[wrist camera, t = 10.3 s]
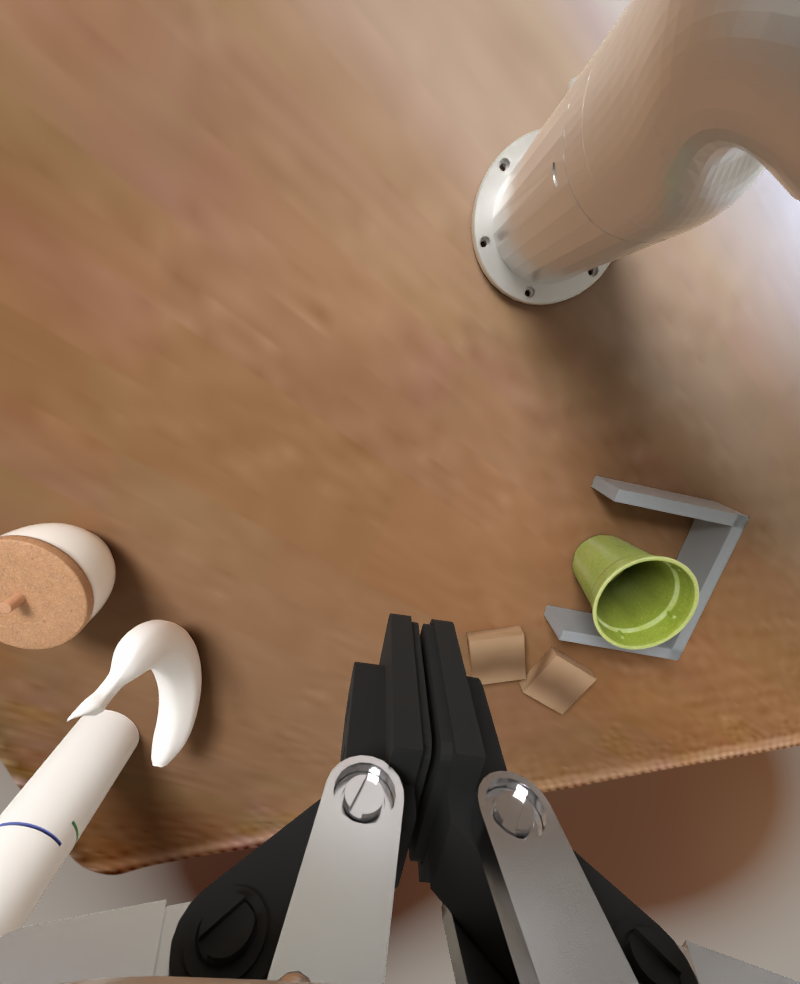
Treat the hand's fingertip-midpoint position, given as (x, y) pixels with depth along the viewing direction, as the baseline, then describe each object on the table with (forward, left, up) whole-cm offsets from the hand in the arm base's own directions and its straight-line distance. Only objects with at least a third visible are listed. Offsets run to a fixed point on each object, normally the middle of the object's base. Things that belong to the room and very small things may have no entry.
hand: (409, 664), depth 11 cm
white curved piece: (+30, -17, -32) cm, 47 cm away
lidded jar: (+19, -28, -32) cm, 46 cm away
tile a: (+22, +17, -32) cm, 42 cm away
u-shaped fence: (+8, +27, -31) cm, 42 cm away
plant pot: (+8, +25, -32) cm, 41 cm away
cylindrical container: (+42, -25, -32) cm, 58 cm away
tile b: (+24, +25, -32) cm, 47 cm away
